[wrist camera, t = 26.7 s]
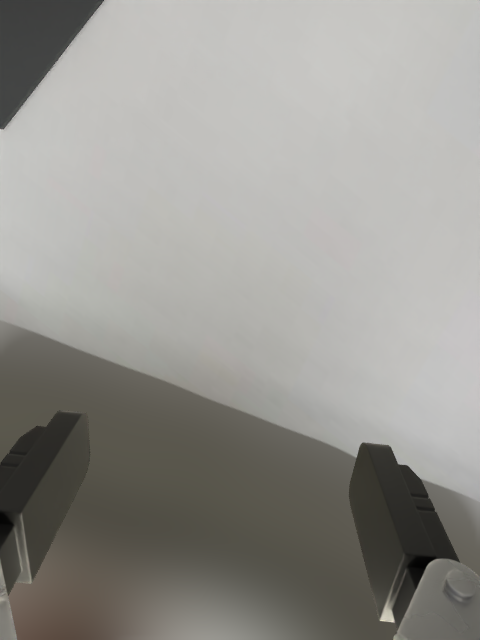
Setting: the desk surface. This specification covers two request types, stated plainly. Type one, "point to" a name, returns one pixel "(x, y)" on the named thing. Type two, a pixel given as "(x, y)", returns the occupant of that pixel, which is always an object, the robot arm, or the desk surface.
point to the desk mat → (34, 44)
